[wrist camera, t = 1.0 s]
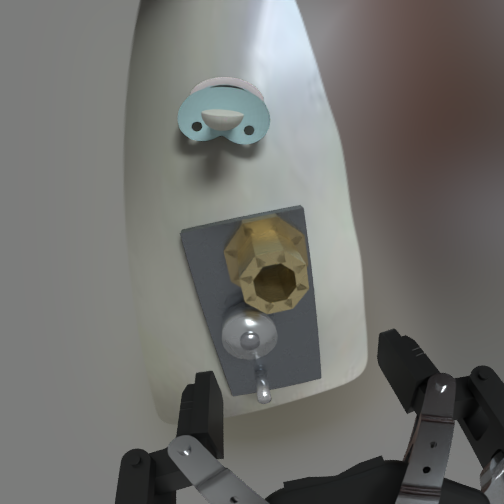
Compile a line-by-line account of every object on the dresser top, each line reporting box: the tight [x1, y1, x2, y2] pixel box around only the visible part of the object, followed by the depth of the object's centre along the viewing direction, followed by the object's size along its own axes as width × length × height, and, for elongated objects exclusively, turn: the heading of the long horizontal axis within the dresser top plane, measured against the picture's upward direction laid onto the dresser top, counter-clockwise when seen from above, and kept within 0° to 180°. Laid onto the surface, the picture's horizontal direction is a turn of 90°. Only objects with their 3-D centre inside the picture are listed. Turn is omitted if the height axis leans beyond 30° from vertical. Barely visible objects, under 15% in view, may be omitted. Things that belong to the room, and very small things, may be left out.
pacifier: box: [178, 77, 270, 144], centre depth 20 cm, size 7×6×6 cm
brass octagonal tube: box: [224, 214, 309, 314], centre depth 24 cm, size 7×7×6 cm
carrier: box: [180, 205, 321, 404], centre depth 28 cm, size 21×11×5 cm, turn 11°
